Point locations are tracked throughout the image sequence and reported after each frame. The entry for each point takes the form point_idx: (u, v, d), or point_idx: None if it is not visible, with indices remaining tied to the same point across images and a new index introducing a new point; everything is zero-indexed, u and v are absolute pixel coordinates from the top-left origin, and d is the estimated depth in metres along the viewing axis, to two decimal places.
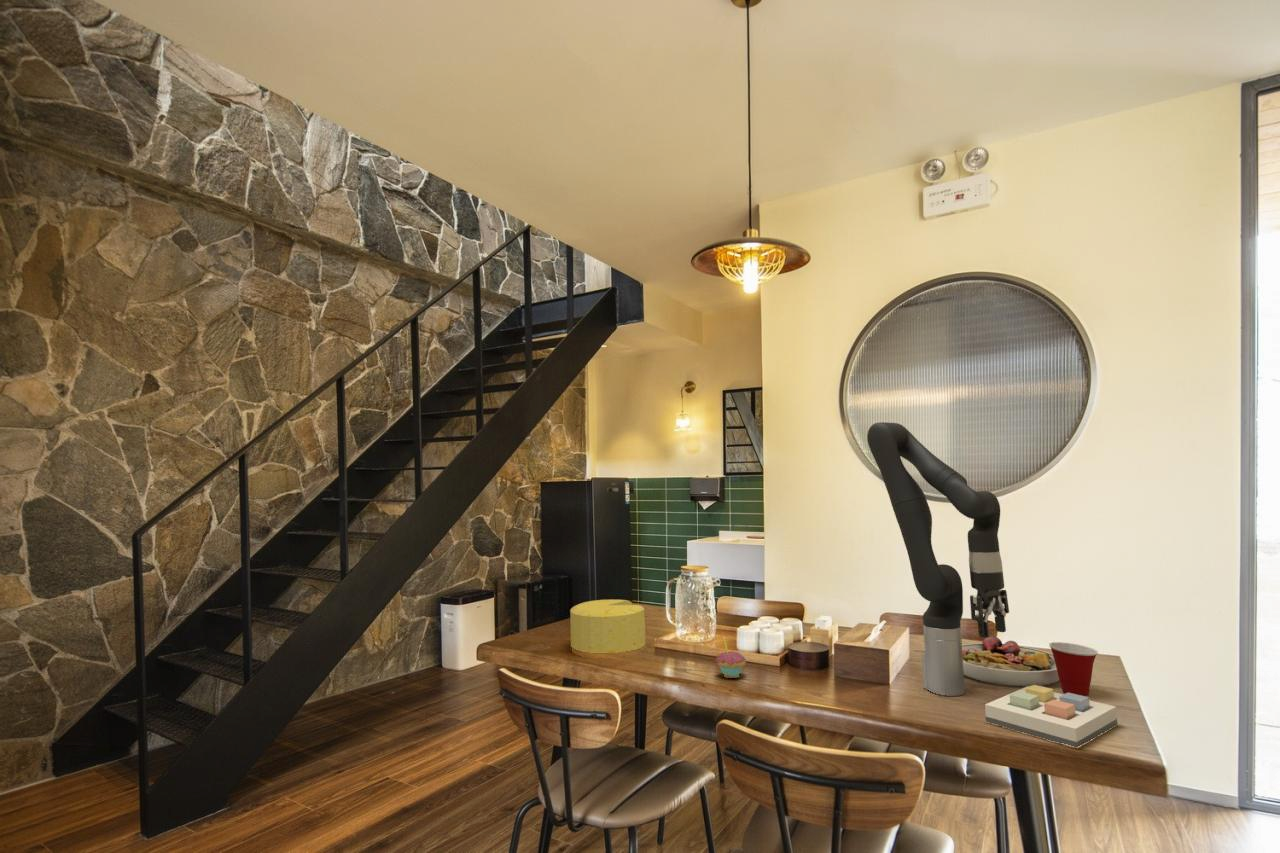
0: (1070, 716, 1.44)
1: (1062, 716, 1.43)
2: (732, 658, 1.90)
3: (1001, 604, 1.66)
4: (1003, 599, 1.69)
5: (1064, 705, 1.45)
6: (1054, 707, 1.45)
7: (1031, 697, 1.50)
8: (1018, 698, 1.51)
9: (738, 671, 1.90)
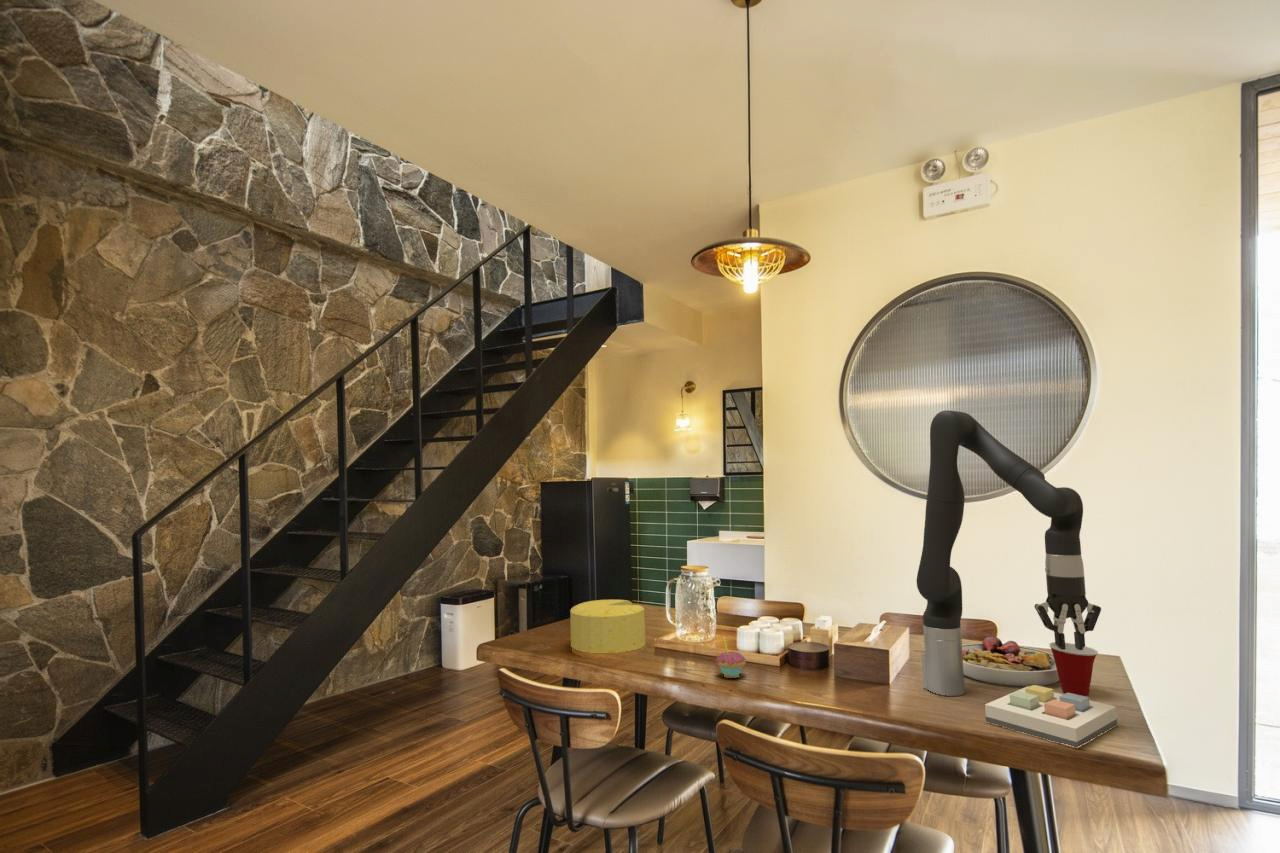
0: (1070, 716, 1.44)
1: (1062, 716, 1.43)
2: (732, 658, 1.90)
3: None
4: None
5: (1064, 705, 1.45)
6: (1054, 707, 1.45)
7: (1031, 697, 1.50)
8: (1018, 698, 1.51)
9: (738, 671, 1.90)
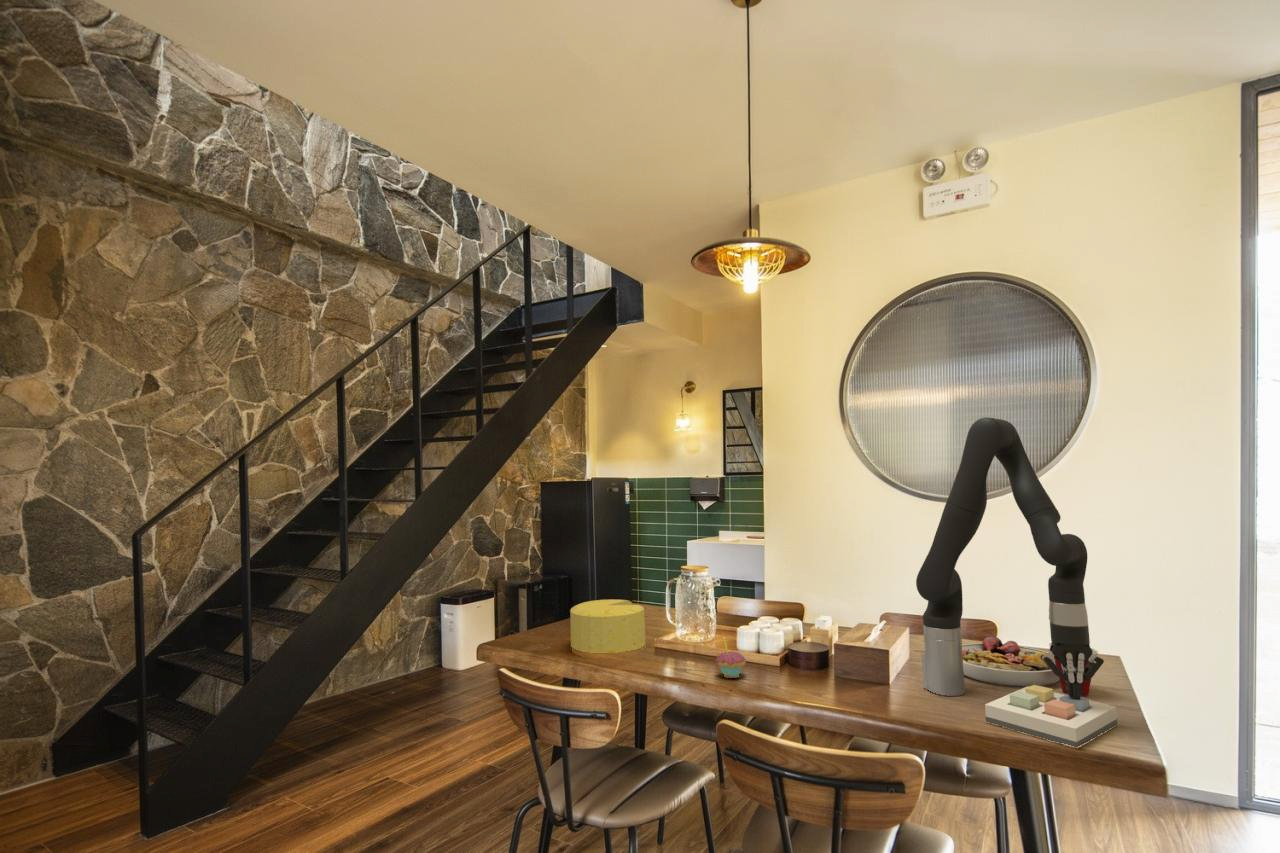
0: (1070, 716, 1.44)
1: (1062, 716, 1.43)
2: (732, 658, 1.90)
3: None
4: None
5: (1064, 705, 1.45)
6: (1054, 707, 1.45)
7: (1031, 697, 1.50)
8: (1018, 698, 1.51)
9: (738, 671, 1.90)
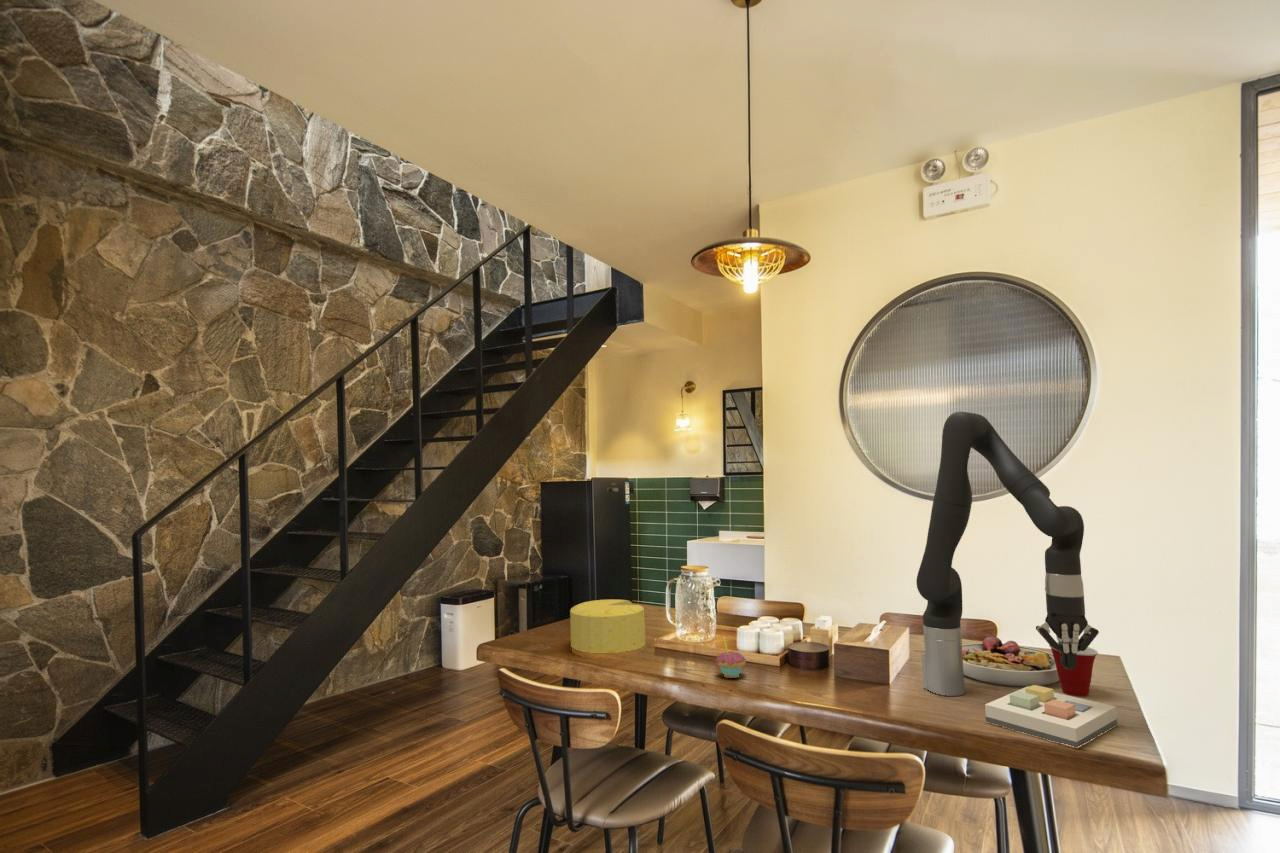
0: (1070, 716, 1.44)
1: (1062, 716, 1.43)
2: (732, 658, 1.90)
3: None
4: None
5: (1064, 705, 1.45)
6: (1054, 707, 1.45)
7: (1031, 697, 1.50)
8: (1018, 698, 1.51)
9: (738, 671, 1.90)
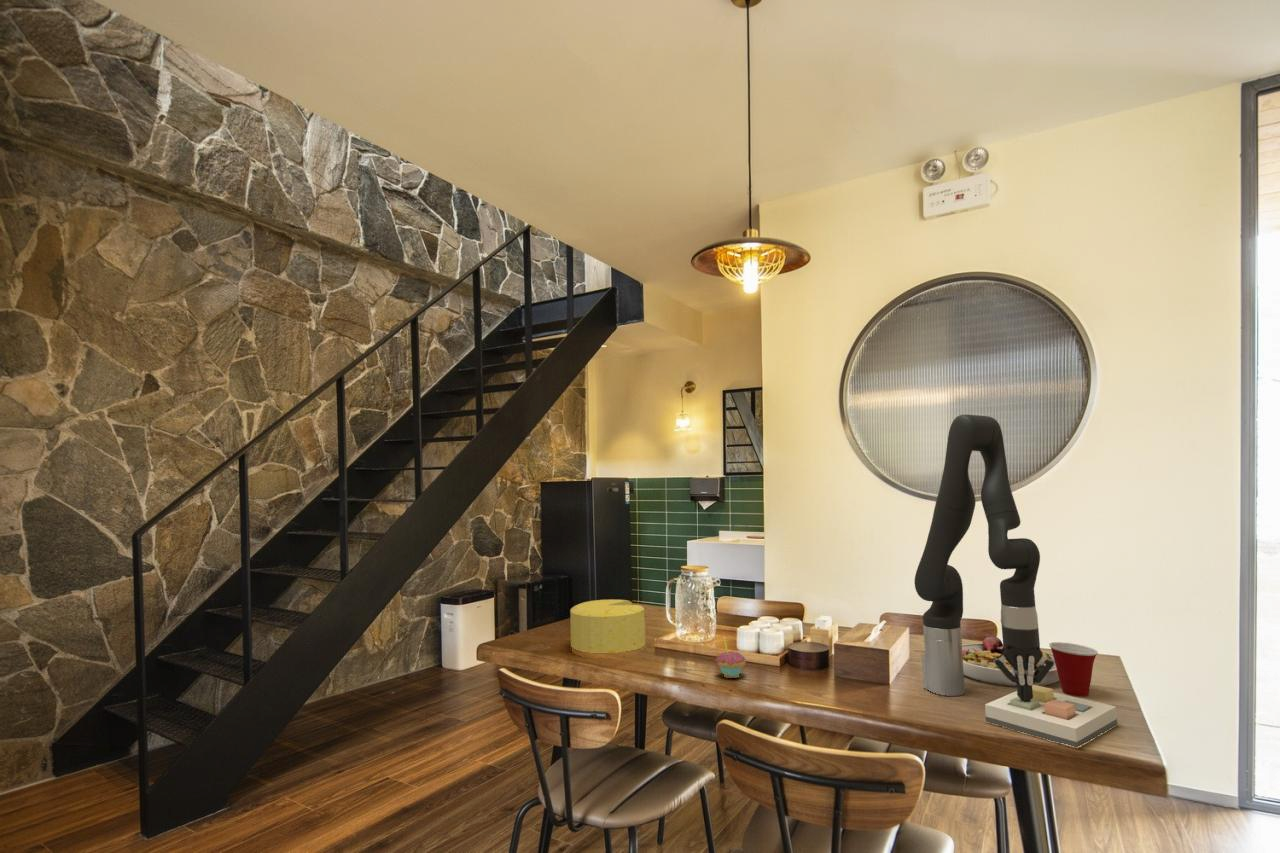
0: (1070, 716, 1.44)
1: (1062, 716, 1.43)
2: (732, 658, 1.90)
3: None
4: None
5: (1064, 705, 1.45)
6: (1054, 707, 1.45)
7: (1031, 702, 1.50)
8: (1018, 703, 1.51)
9: (738, 671, 1.90)
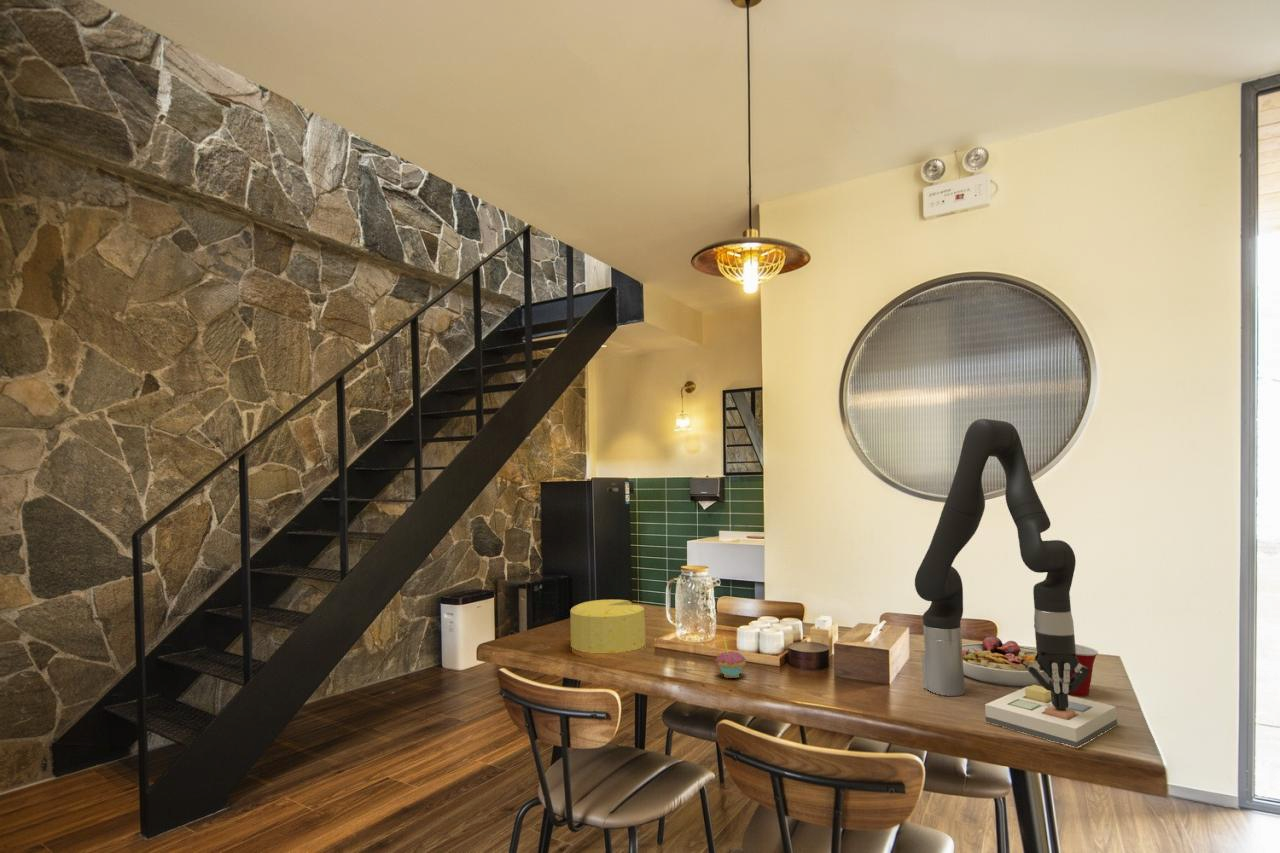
0: None
1: None
2: (732, 658, 1.90)
3: None
4: None
5: None
6: (1054, 712, 1.45)
7: (1032, 706, 1.50)
8: None
9: (738, 671, 1.90)
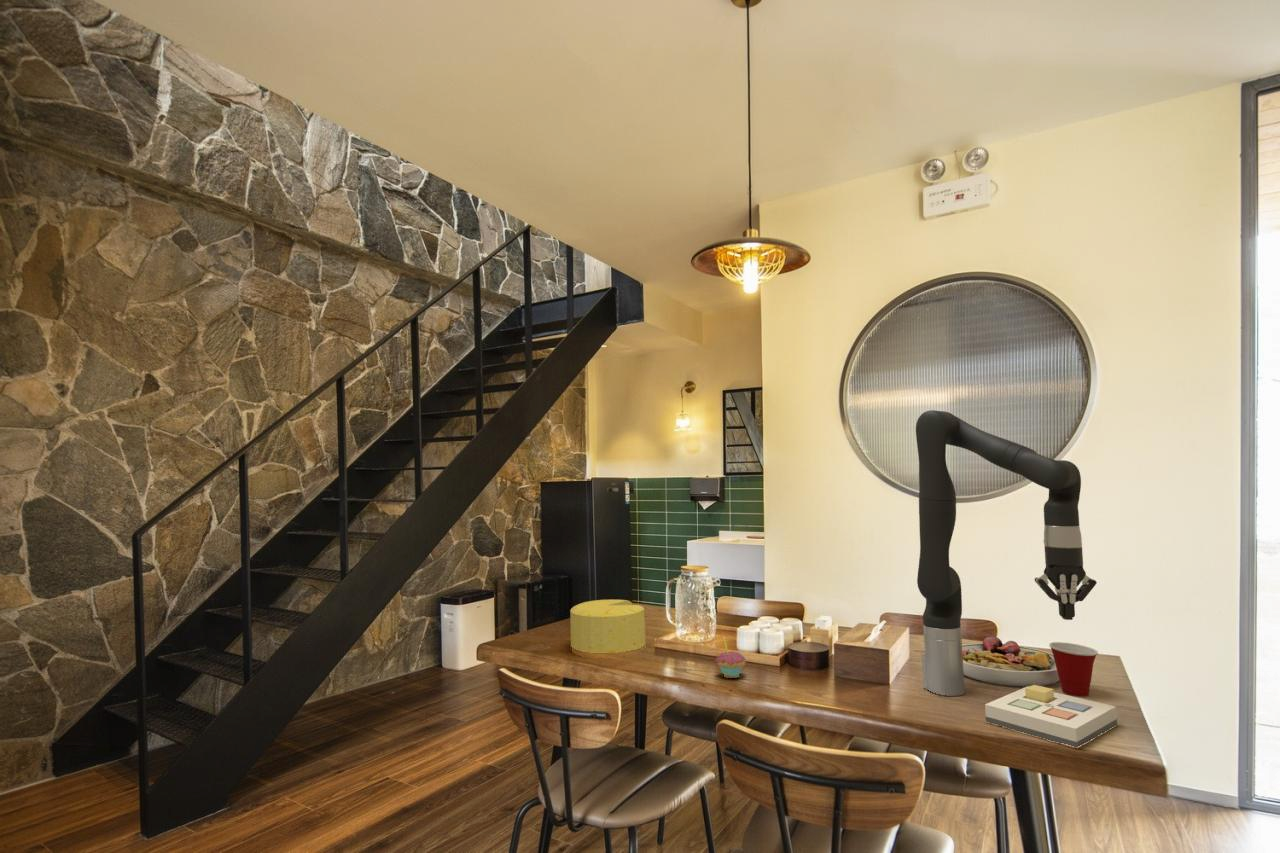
0: None
1: None
2: (732, 658, 1.90)
3: None
4: None
5: (1065, 714, 1.45)
6: (1055, 716, 1.44)
7: (1032, 706, 1.50)
8: None
9: (738, 671, 1.90)
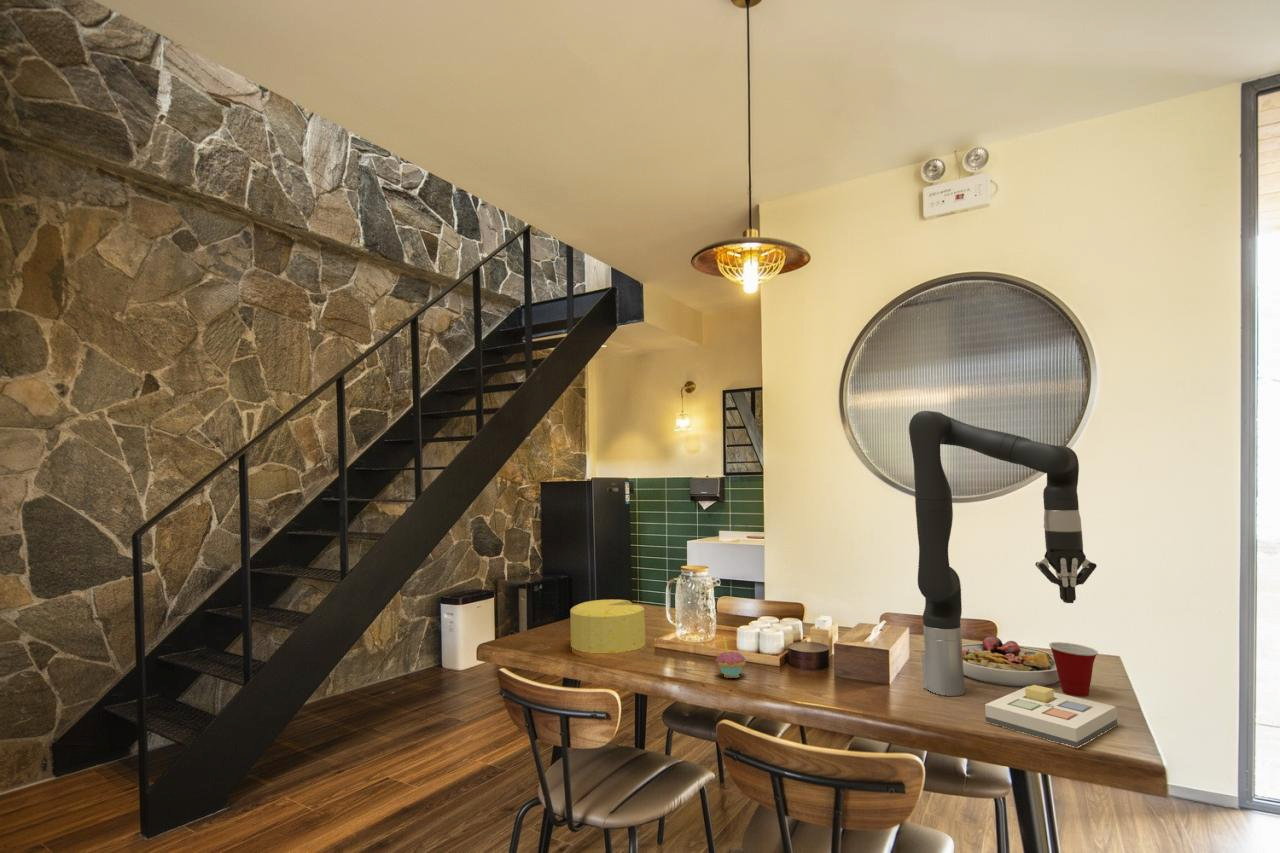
0: None
1: None
2: (732, 658, 1.90)
3: None
4: None
5: (1065, 714, 1.45)
6: (1055, 716, 1.44)
7: (1032, 706, 1.50)
8: None
9: (738, 671, 1.90)
